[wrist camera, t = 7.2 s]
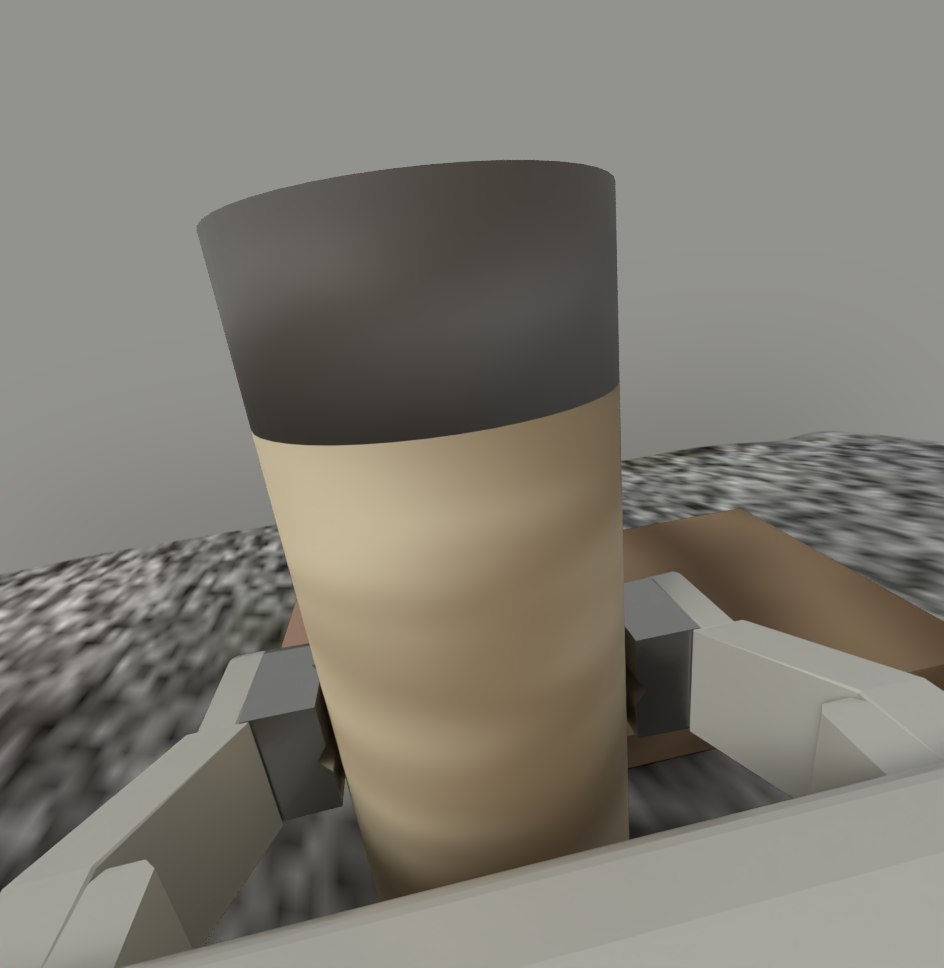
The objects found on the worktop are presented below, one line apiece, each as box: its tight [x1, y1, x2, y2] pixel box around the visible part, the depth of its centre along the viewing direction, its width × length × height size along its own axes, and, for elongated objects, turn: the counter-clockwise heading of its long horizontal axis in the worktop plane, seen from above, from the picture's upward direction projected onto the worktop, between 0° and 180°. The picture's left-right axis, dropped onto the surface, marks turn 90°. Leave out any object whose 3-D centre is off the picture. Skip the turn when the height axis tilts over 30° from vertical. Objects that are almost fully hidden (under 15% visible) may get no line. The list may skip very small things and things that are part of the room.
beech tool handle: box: [197, 160, 629, 902], centre depth 8 cm, size 4×4×14 cm
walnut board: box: [623, 508, 944, 768], centre depth 21 cm, size 12×12×1 cm
